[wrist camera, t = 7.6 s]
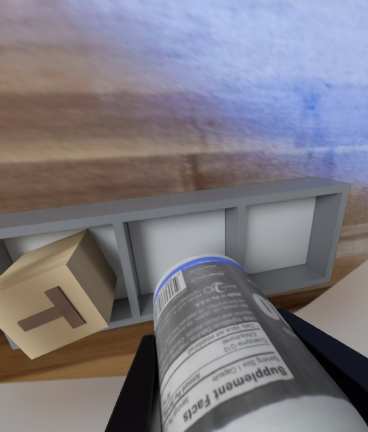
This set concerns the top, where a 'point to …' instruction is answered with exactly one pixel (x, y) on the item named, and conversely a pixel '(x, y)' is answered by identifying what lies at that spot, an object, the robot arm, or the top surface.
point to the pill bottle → (236, 358)
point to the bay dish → (196, 236)
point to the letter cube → (57, 294)
